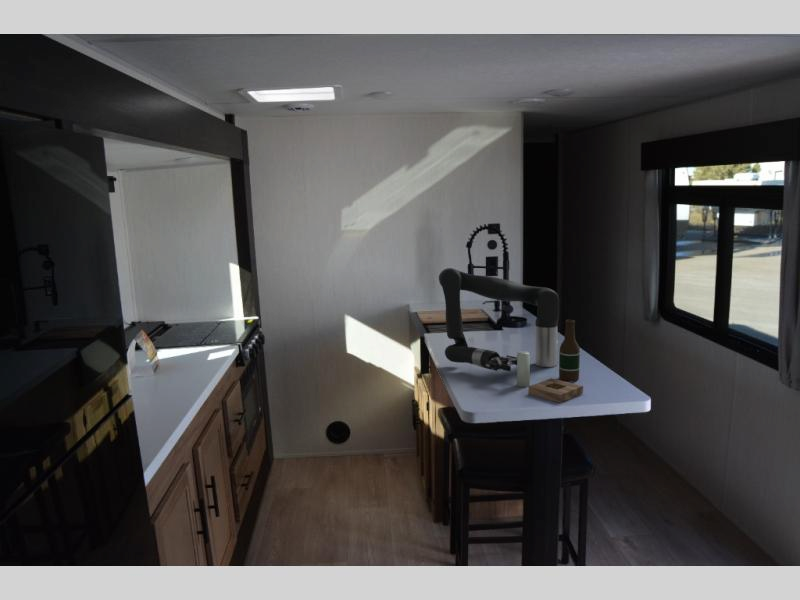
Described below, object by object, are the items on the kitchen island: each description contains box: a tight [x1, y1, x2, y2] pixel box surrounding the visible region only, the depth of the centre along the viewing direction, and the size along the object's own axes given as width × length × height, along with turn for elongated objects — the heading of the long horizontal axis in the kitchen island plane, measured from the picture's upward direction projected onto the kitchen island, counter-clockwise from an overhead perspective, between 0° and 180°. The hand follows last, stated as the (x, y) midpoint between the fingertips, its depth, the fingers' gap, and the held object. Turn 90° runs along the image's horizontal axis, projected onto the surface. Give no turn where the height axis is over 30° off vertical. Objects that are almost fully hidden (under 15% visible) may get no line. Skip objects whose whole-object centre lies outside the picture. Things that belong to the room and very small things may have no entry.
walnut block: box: [528, 377, 584, 404], centre depth 226 cm, size 14×14×3 cm
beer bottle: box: [558, 319, 581, 382], centre depth 242 cm, size 8×8×24 cm
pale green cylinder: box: [516, 350, 531, 388], centre depth 237 cm, size 5×5×13 cm
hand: (517, 366), depth 239 cm, fingers open, 8 cm apart
